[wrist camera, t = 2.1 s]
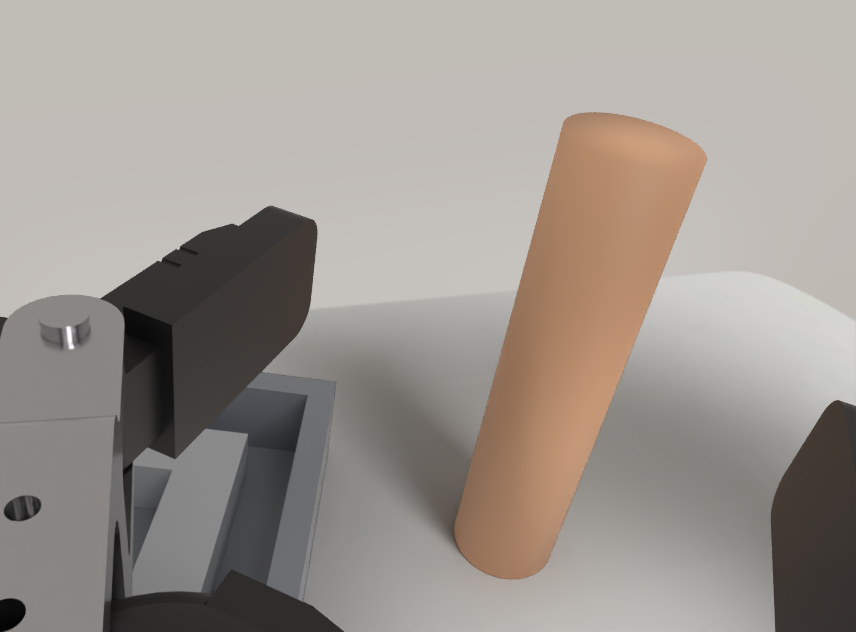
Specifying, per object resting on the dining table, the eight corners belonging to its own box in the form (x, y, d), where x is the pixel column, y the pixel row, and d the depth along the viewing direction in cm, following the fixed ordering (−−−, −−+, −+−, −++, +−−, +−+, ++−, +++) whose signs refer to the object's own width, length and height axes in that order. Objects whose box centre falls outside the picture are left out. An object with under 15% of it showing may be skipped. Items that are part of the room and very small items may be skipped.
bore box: (328, 451, 32) (336, 381, 30) (260, 852, 20) (266, 785, 18) (-55, 405, 31) (-76, 329, 29) (-378, 804, 19) (-461, 725, 16)
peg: (544, 503, 32) (683, 125, 22) (557, 584, 29) (726, 181, 19) (452, 493, 32) (554, 104, 22) (454, 573, 28) (575, 157, 19)
